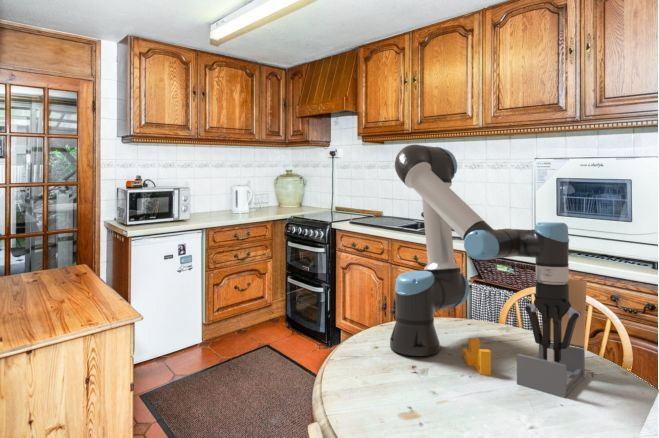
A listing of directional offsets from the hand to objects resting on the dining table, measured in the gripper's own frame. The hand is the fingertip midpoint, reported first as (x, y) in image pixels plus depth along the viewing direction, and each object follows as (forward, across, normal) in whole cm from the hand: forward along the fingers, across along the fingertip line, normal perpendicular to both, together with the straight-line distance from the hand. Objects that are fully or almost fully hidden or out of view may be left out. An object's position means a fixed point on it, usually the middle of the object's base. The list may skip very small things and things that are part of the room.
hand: (552, 373), depth 105 cm
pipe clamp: (+2, -18, -4) cm, 19 cm away
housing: (+2, 0, 0) cm, 2 cm away
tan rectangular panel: (-6, 0, +9) cm, 11 cm away
